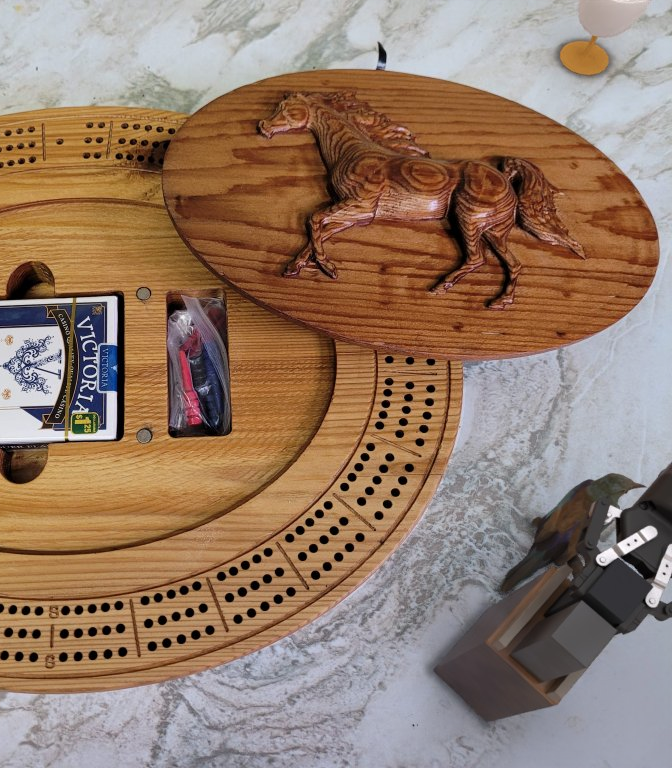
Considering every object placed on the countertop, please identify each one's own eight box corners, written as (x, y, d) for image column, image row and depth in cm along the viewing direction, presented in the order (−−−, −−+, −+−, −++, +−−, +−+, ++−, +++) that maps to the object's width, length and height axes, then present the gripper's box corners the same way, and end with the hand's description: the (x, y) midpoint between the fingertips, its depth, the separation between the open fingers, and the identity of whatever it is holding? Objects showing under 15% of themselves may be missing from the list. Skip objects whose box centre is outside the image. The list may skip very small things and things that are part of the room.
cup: (546, 71, 158) (583, -6, 143) (558, 31, 163) (595, -48, 147) (610, 86, 156) (654, 10, 140) (620, 45, 160) (664, -34, 145)
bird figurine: (532, 625, 112) (638, 543, 100) (476, 569, 116) (572, 482, 104) (568, 585, 121) (671, 505, 108) (516, 534, 125) (609, 451, 112)
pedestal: (542, 657, 111) (619, 627, 91) (486, 722, 108) (553, 706, 87) (488, 608, 114) (550, 567, 94) (432, 669, 111) (484, 642, 91)
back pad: (601, 610, 90) (654, 586, 80) (573, 642, 89) (624, 622, 78) (569, 584, 92) (618, 556, 81) (542, 615, 91) (588, 591, 80)
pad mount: (619, 627, 91) (680, 602, 79) (553, 706, 87) (606, 693, 76) (550, 567, 94) (599, 536, 82) (484, 642, 91) (525, 620, 79)
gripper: (649, 439, 85) (548, 552, 80) (780, 537, 80) (680, 664, 75) (616, 465, 91) (521, 570, 87) (735, 557, 86) (640, 674, 82)
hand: (595, 613), depth 81 cm, fingers closed on back pad, 4 cm apart
